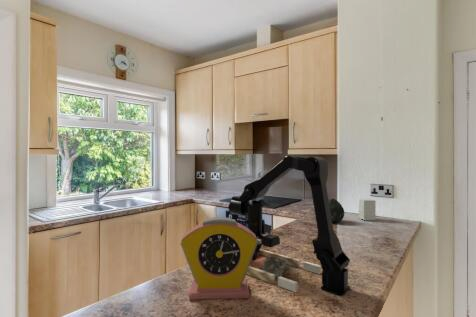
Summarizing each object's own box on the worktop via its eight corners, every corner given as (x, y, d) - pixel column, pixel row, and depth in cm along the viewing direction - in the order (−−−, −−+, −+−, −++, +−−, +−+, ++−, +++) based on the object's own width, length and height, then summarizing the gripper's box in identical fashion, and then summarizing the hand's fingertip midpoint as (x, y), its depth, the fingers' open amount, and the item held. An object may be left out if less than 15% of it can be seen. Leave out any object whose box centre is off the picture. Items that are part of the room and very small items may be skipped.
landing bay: (321, 273, 94) (321, 265, 94) (295, 292, 80) (295, 283, 80) (304, 268, 98) (304, 261, 98) (277, 285, 84) (278, 277, 84)
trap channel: (299, 266, 99) (299, 259, 99) (272, 283, 86) (272, 275, 86) (258, 254, 111) (258, 248, 111) (229, 267, 98) (229, 260, 98)
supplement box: (375, 221, 168) (376, 200, 168) (363, 221, 168) (363, 200, 168) (370, 218, 176) (370, 198, 175) (358, 218, 176) (358, 198, 176)
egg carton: (268, 264, 102) (269, 253, 102) (289, 267, 99) (289, 256, 99) (258, 275, 92) (258, 263, 92) (280, 279, 89) (280, 267, 89)
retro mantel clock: (179, 300, 76) (178, 222, 75) (183, 284, 85) (183, 215, 85) (258, 298, 77) (259, 221, 77) (255, 283, 86) (255, 214, 86)
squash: (324, 208, 180) (319, 192, 171) (348, 212, 171) (344, 196, 162) (318, 226, 171) (312, 210, 163) (342, 231, 163) (338, 215, 154)
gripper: (288, 217, 101) (287, 260, 101) (248, 210, 113) (248, 248, 114) (270, 223, 93) (270, 269, 93) (229, 215, 105) (229, 256, 105)
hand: (254, 259), depth 101 cm, fingers closed
